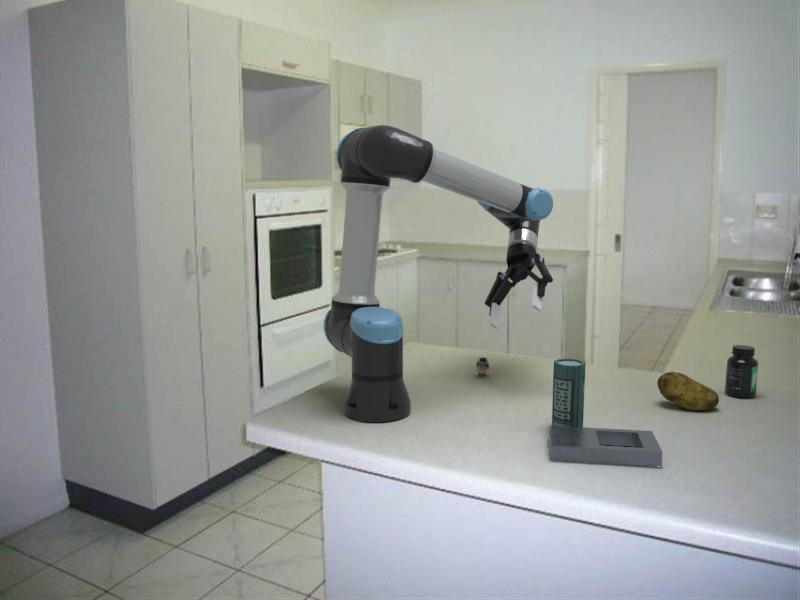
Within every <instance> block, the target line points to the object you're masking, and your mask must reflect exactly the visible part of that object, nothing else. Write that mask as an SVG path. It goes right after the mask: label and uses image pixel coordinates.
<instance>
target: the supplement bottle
mask: <svg viewBox="0 0 800 600" xmlns="http://www.w3.org/2000/svg"><path fill="white" fill-rule="evenodd" d="M755 351H756V348H755V347H753V346H750V345H746V344H737V345H736V344H734V345H733V346H732V351H731V354H732V355H731V356H729V357H728V358H727V360H726V371H725V372H726V373H725V382H724V383H725V384H724V385H725V386H724V393H725V394H726V395H727V396H729V397H731V398H736V399H743V400H749V399H750V400H751V399H753V398H755V397H756V394H757V386H758V385H757V384H758V375H759V374H758V372H759V371H758V370H759V362H758V360H757V359H756V358H755V355H756V353H755Z"/></svg>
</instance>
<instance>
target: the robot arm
mask: <svg viewBox="0 0 800 600" xmlns="http://www.w3.org/2000/svg"><path fill="white" fill-rule="evenodd" d="M335 152H336V153H335V154H336V157H335V158H336V163H337V166H338V168H339V169H340V171H341V174H340V185H341V186H342V187H343V189H344V190H345V191H346V193H345V194H346V195H345V208H344V220H343V221H344V222H343V235H342V245H341V246H342V247H341V258H340V259H341V261H340V272H339V287H338V291H337V293H335V294H334V295H333V296H332V297H331V304H330V305H331V306H330V307H331V308H330V309H329V310H328V311H327V313H326V315H325V317H324V319H323V332H324V336H325V338H326V340H327V341H328V342H329V344H331V346H332V347H333V348H334V349H335V350H337V351H338V352H340V353H343V354H345V355H347V356H349V357H351V380H350V381H351V382H350V385H349V388H348V391H347V395H346V397H345V398H346V399H345V402H344V414H345V415H346V416H347V417H348V418H350V419H352V420H355V421H358V422H364V423H388V422H394V421H399V420H401V419H404V418H406V417H408V416H409V415H410V414H411V412H412V404H411V403H412V402H411V399H410V396H409V393H408V390H407V387H406V384H405V381H404V332H405V331H404V326H403V319H402V316H401V315H400V314H399V312H397V311H396V310H393V309H391V308H387V307H386V308H383V306H382V307H381V306H380V305H381V304H380V303H381V301H380V300H379V299H378V297H377V296H376V295H375V287H376V279H377V278H376V277H377V276H376V275H377V265H378V253H379V242H380V229H381V217H382V206H383V205H382V204H383V195H384V194H385V193H386V192H387V191H388V190H389V189H390V187H391V179H400V180H405V181H409V182H410V183H411V182H412V183H414V184H420V183H421V182H424V183H426V184H430V185H432V186H435V187H438V188H441V189H443V190H446V191H449V192H452V193H454V194H457V195H459V196H463V197H465V198H468V199H471V200H474V201H476V202H477V203H478V205H480V206H481V207H482V208H483V209H484V211H485V212H487V213H489V214H490V215H491V216H492V217H494V218H495V219H497V220H498V221H499V222H500V223H501V224H503V225H504V226H505V227H506V228H508V229H509V232H508V233H509V234H508V240H507V242H508V243H507V251H506V257H505V258H506V265H507V269H506V270H505V272H502V271H498V272H497V273H496V278H495V281H494V283H493V285H492V287H491V289H490V291H489V294H488V295H487V297H486V299H485V301H484V305H485V306H486V307H488V308H489V314H488V315H489V323H488V325H489V326H491V327H492V328H494V329H495V330H499V329H500V322H501V314H502V306H501V305H502V303H503V301H504V300H505V299H506V297H507V296H508V294H509V293H510V291H511V290H512V289H513V288H515V287H516V285H518V283H519V282H522V281H524V280H526V279H527V278H528V277H530V278H531V279H532V280H533V281H535V282H536V283H534V284H533V288H532V298H531V299H532V300H531V307H532V308H534V309H535V310H536V311H538V312H542V309H543V298H544V297H545V295H546V287H547V286H548V284H549V283H550V284H551V283H553V282H554V279H553V277H552V274H551V273H550V271H549V269H548V268H547V266H546V264H545V258H544V257H543V256H542V255H541V254H539V253H538V252H537V250H538V242H539V241H538V239H539V230H540V223H541V220H545V219H546V218H548V217H549V216H550V215H551V213H552V211H553V209H554V208H553V207H554V198H553V196H552V194H551V193H550V192H549V191H548V190H546V189H543V188H540V187H534V188H533V187H530V186H527V185H524V184H523V183H519V182H517V181H515V180H513V179H510V178H508V177H505V176H502V175H501V174H497V173H495V172H492V171H490V170H488V169H486V168H483V167H481V166H478V165H475V164H472V163H470V162H468V161H465V160H463V159H460V158H458V157H455V156H453V155H450V154H448V153H446V152H443V151H441V150H439V149H436V148H435V147H434V144H433V143H432V142H431V141H429V140H426V139H423V138H421V137H419V136H417V135H414V134H412V133H410V132H407V131H406V130H405V131H404V130H402V129H401V128H398V127H395V126H391V125H387V124H380V125H373V126H367V127H358V128H355V129H353V130H351V131H350V132H348V133H346V135H344V136H343V137H342V138H341V140H340V141H339V142H338V146H337V149H336V151H335ZM535 265H536V268H537V269H538V271H539V274H540V275H541V278H540V276H538V275H537V274H536V273H534V271H533V269H534V267H535ZM509 279H510V280H509ZM511 281H512V282H511Z"/></svg>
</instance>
